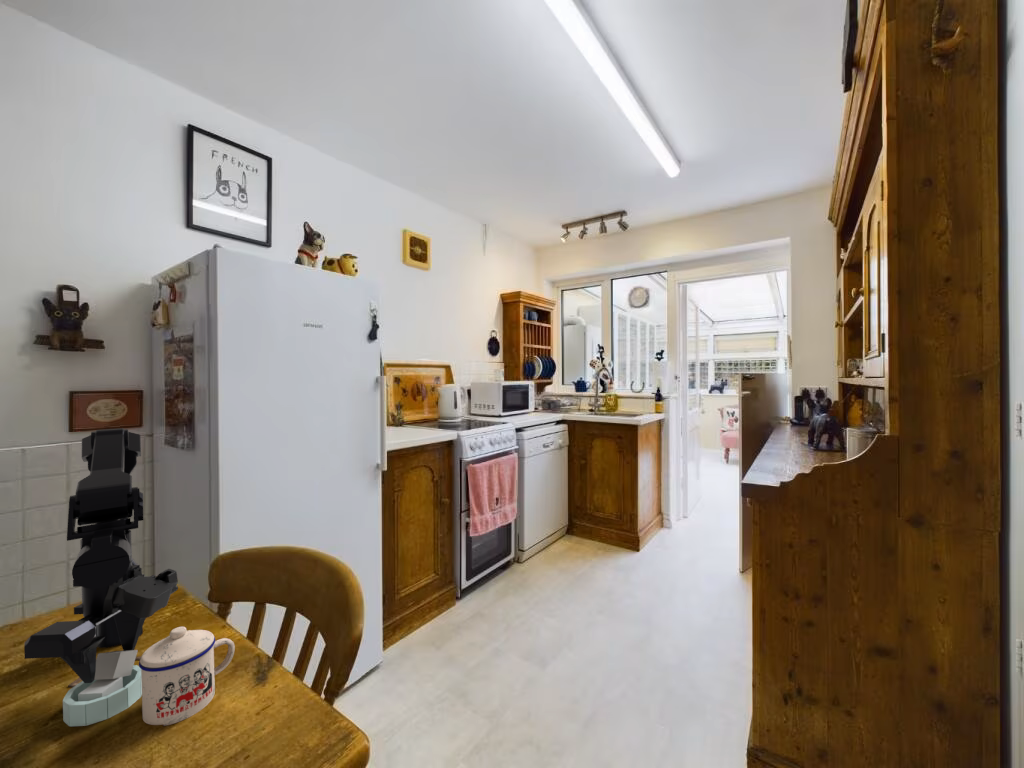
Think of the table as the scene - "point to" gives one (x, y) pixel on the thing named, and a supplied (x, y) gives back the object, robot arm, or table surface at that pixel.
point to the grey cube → (114, 664)
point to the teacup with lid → (180, 675)
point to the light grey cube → (100, 689)
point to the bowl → (101, 701)
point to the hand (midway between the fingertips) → (110, 667)
